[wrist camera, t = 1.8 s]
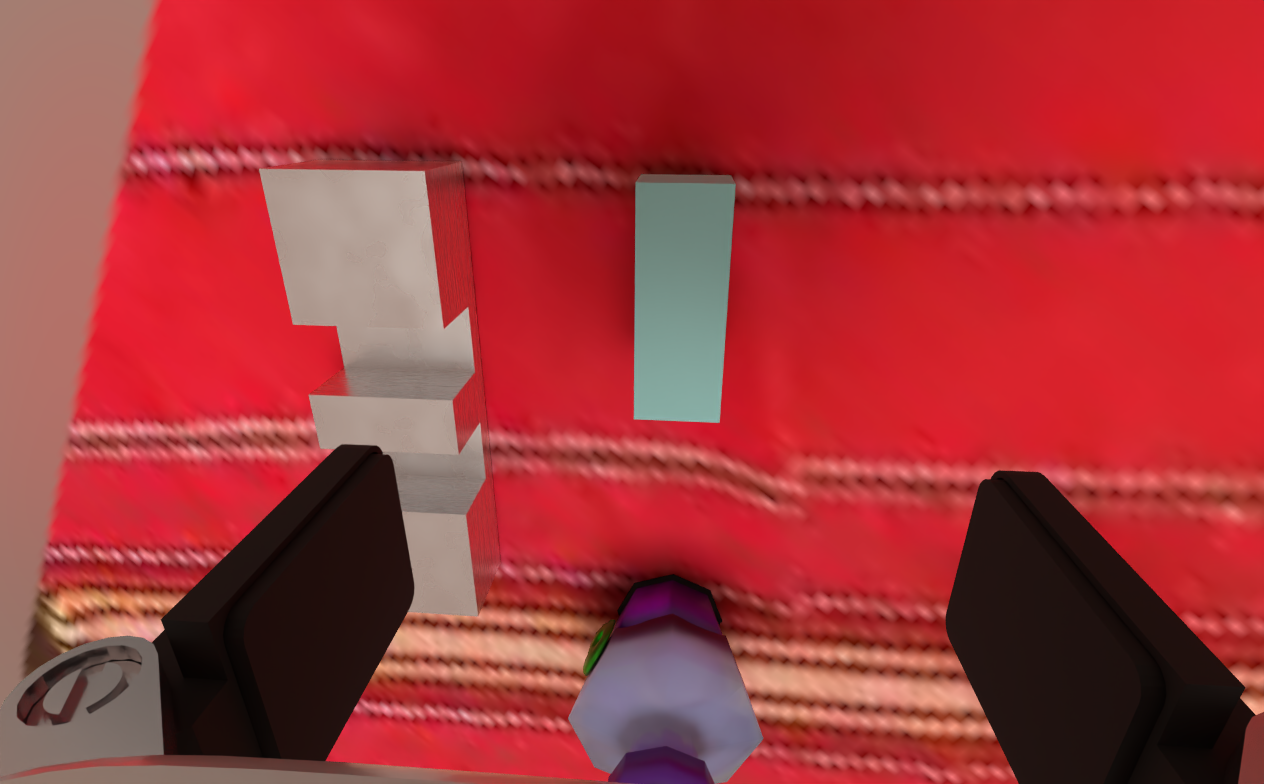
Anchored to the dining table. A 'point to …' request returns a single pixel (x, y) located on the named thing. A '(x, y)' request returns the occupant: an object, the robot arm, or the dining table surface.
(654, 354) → the teal u-shaped block
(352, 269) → the rail
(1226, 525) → the dining table surface
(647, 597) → the potion bottle
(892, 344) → the dining table surface
